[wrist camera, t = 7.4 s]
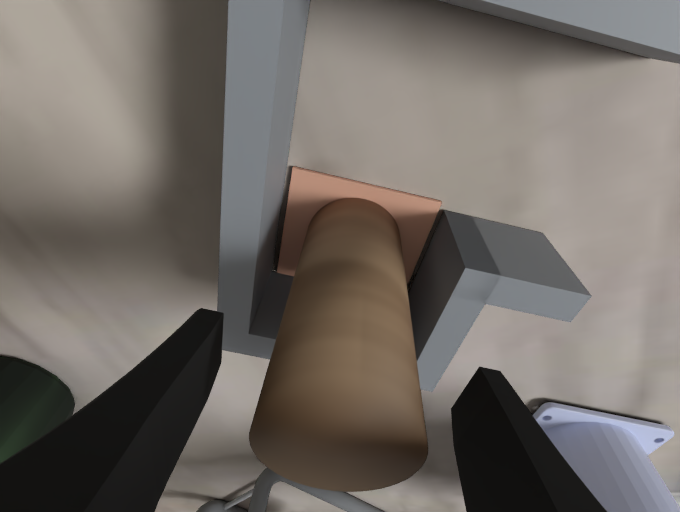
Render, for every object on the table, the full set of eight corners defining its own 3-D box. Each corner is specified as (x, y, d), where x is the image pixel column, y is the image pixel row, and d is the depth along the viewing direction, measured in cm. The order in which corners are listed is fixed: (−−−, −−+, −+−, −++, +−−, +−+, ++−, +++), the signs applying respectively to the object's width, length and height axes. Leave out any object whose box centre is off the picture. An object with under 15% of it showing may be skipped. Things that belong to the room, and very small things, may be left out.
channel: (479, 334, 18) (502, 405, 15) (244, 285, 18) (216, 348, 14) (680, 13, 11) (819, 14, 7) (279, -100, 10) (234, -155, 7)
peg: (384, 285, 17) (396, 502, 9) (300, 267, 17) (243, 475, 9) (413, 210, 15) (457, 416, 7) (315, 187, 14) (257, 377, 7)
